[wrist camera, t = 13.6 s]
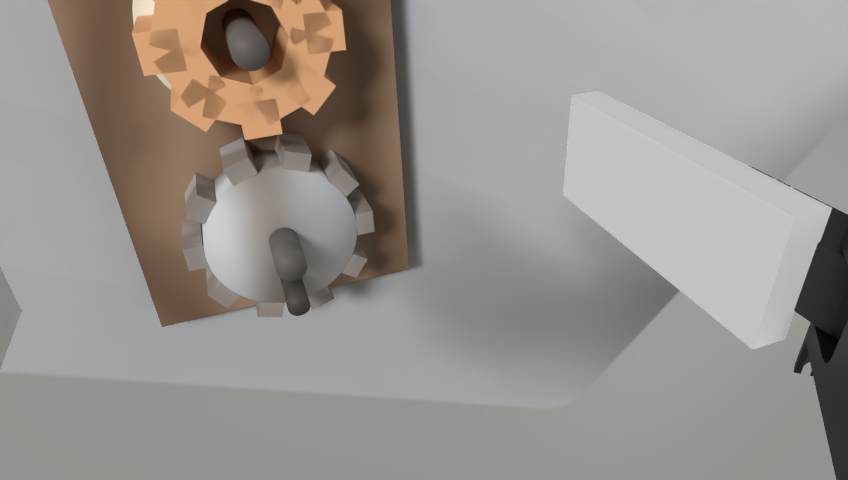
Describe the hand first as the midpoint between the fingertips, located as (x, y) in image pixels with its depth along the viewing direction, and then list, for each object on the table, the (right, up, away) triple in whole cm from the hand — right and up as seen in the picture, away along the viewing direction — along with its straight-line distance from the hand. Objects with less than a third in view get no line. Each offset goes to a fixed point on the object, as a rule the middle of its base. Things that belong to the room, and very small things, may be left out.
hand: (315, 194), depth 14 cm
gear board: (-7, +6, +21) cm, 23 cm away
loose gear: (-7, +10, +16) cm, 20 cm away
